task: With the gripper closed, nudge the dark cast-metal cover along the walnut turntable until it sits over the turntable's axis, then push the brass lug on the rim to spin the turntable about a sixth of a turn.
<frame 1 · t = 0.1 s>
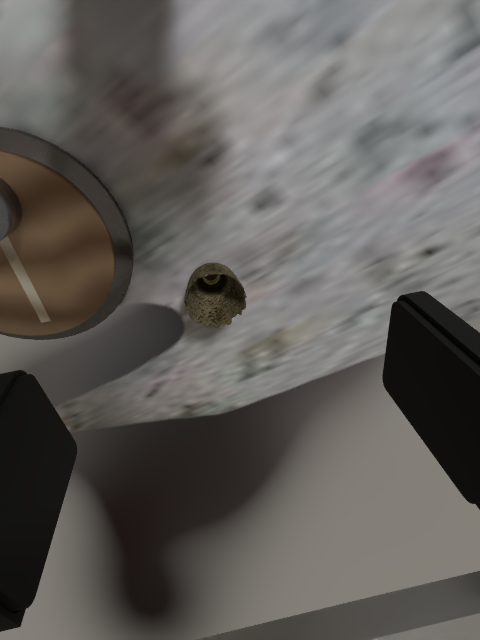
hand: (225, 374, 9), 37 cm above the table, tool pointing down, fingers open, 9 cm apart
cup: (210, 274, 48), on the table
platter: (5, 261, 38), point 4 cm above the table, hinge at 0.0°, touching cover
turntable base: (22, 247, 42), on the table
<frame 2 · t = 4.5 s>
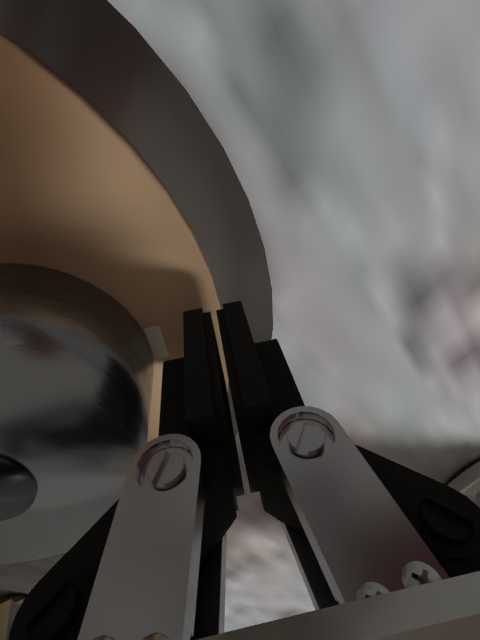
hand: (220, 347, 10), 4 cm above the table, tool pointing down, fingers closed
cover: (39, 367, 11), point 3 cm above the table, touching gripper
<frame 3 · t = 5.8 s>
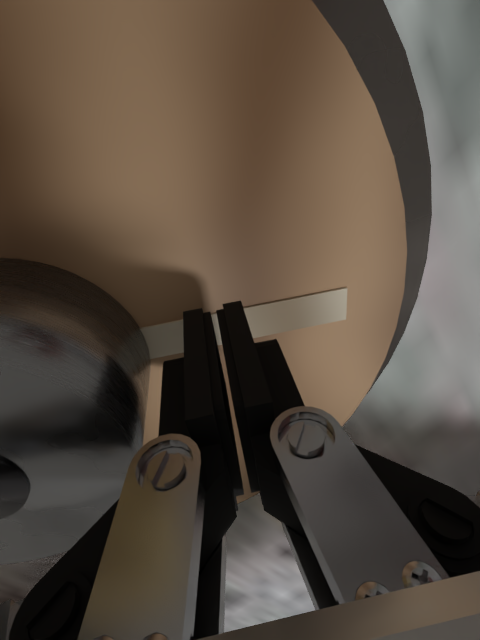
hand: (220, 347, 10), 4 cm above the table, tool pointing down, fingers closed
cover: (34, 364, 11), point 3 cm above the table, touching gripper, platter
platter: (54, 378, 10), point 4 cm above the table, hinge at 0.0°, touching cover
turntable base: (90, 308, 13), on the table
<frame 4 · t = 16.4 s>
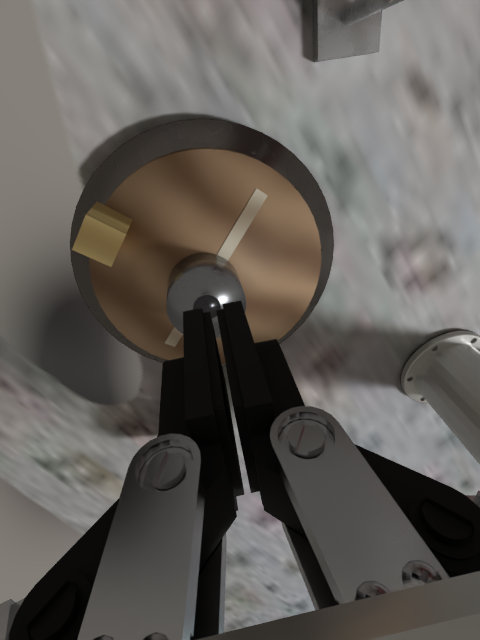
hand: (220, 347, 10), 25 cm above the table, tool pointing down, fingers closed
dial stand: (344, 17, 26), on the table
cover: (204, 286, 33), point 3 cm above the table, touching platter
platter: (209, 280, 32), point 4 cm above the table, hinge at 50.5°, touching cover
turntable base: (208, 263, 35), on the table
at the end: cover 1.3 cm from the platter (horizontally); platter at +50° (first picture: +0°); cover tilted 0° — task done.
